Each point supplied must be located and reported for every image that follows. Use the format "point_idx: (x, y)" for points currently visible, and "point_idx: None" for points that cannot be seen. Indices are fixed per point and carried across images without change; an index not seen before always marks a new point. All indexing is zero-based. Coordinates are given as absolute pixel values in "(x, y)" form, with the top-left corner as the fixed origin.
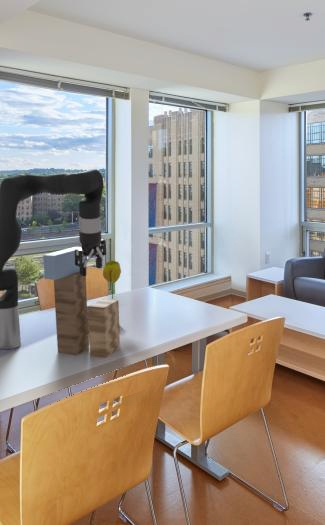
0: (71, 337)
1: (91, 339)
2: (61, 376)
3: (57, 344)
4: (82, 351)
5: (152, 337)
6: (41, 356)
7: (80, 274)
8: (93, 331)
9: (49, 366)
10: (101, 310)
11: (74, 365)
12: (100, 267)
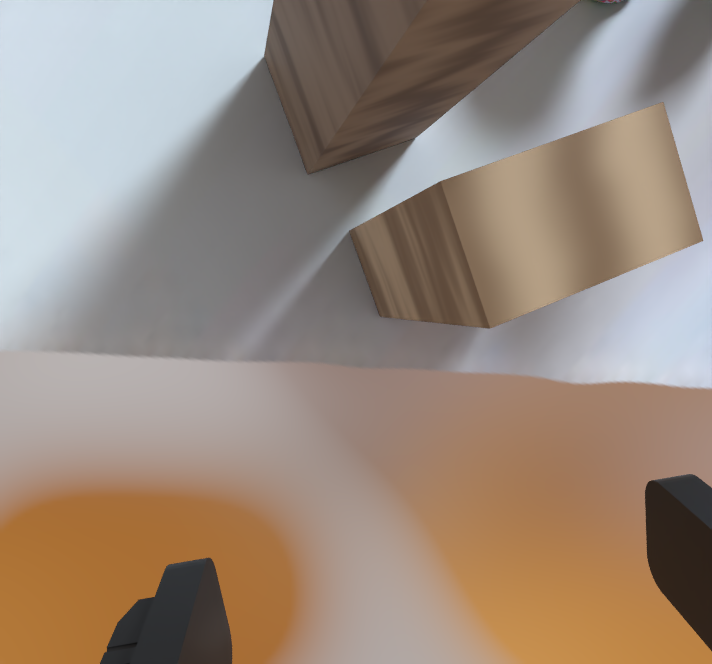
0: (310, 118)
1: (374, 232)
2: (78, 336)
3: (267, 37)
4: (356, 157)
5: (696, 291)
6: (167, 27)
7: (138, 608)
8: (393, 243)
9: (113, 181)
10: (471, 304)
11: (211, 273)
12: (661, 588)
